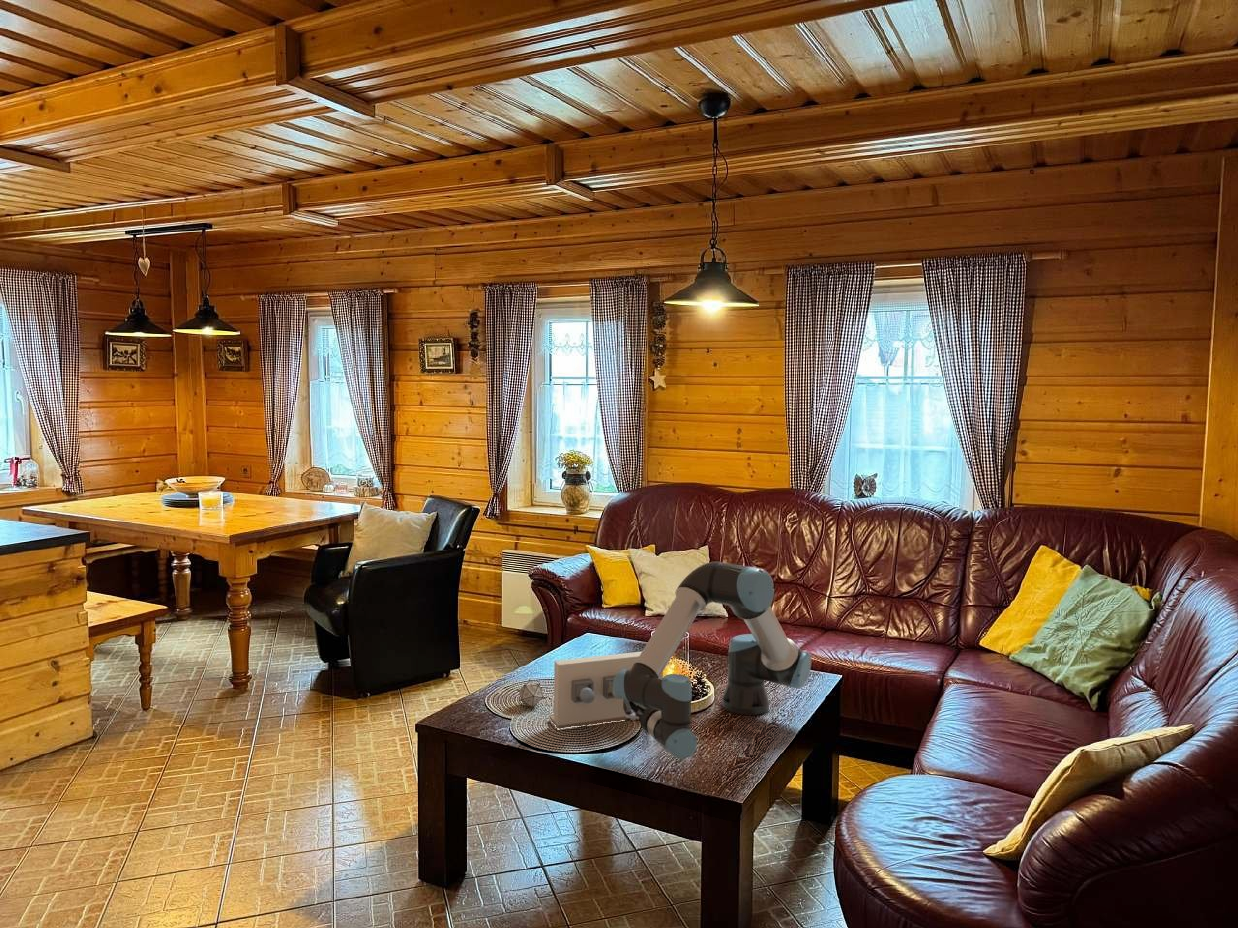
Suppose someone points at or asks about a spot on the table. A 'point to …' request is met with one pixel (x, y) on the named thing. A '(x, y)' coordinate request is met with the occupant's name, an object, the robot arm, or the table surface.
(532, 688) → the game die
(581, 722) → the button panel
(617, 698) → the sage button
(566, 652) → the table surface
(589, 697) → the slate button
